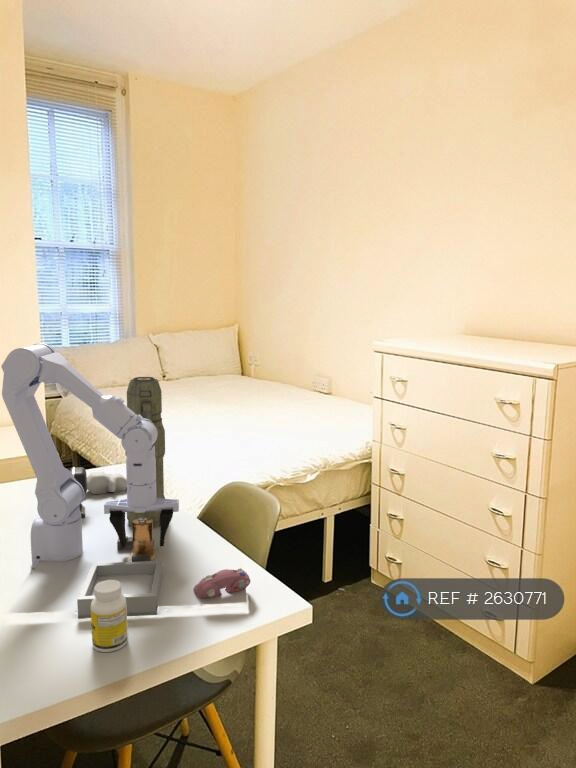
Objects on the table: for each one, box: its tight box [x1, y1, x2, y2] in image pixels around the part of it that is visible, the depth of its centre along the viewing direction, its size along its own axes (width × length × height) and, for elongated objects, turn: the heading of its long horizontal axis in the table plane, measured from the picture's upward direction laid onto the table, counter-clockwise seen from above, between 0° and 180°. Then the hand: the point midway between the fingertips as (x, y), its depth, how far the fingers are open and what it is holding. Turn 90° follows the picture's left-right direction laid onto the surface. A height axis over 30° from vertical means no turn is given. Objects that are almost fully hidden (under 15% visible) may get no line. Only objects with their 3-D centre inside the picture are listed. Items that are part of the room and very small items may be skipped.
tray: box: [76, 560, 164, 619], centre depth 108 cm, size 13×13×4 cm
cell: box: [131, 518, 154, 556], centre depth 121 cm, size 4×4×8 cm
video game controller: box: [193, 567, 251, 599], centre depth 108 cm, size 10×5×7 cm, turn 118°
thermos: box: [124, 376, 166, 529], centre depth 135 cm, size 9×12×35 cm
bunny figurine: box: [87, 471, 127, 495], centre depth 160 cm, size 10×5×15 cm
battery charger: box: [69, 466, 88, 519], centre depth 144 cm, size 7×4×11 cm, turn 18°
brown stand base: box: [116, 535, 157, 562], centre depth 121 cm, size 12×10×4 cm
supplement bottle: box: [90, 579, 129, 653], centre depth 93 cm, size 5×5×10 cm
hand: (142, 545), depth 121 cm, fingers open, 7 cm apart
